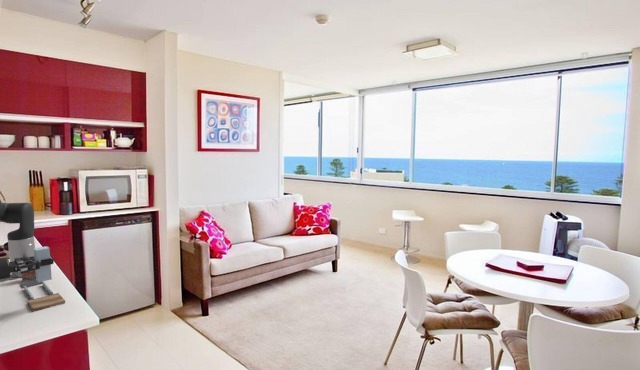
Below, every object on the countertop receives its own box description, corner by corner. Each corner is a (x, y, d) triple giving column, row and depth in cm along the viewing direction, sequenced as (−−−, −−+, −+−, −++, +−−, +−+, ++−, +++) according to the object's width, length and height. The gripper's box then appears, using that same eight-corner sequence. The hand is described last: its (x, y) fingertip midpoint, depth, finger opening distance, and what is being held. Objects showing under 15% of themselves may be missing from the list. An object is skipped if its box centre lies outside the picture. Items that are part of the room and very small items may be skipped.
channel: (24, 289, 148) (24, 286, 148) (44, 284, 153) (43, 281, 152) (32, 301, 137) (32, 297, 137) (53, 295, 142) (53, 292, 142)
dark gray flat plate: (20, 284, 153) (20, 283, 153) (40, 279, 158) (40, 279, 158) (22, 288, 149) (22, 287, 149) (43, 283, 154) (43, 282, 154)
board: (27, 303, 135) (27, 300, 135) (58, 295, 142) (58, 292, 142) (33, 311, 129) (33, 308, 129) (65, 302, 136) (65, 300, 136)
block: (36, 279, 134) (33, 248, 133) (49, 276, 137) (46, 246, 136) (38, 282, 131) (35, 250, 130) (51, 279, 134) (49, 248, 133)
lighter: (20, 281, 157) (18, 259, 155) (24, 278, 160) (22, 256, 159) (41, 279, 159) (39, 257, 158) (45, 276, 162) (43, 255, 161)
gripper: (-8, 264, 118) (55, 253, 130) (-13, 256, 127) (46, 246, 140) (-6, 286, 119) (57, 273, 131) (-11, 276, 128) (48, 265, 141)
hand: (51, 259), depth 135 cm, fingers closed on block, 4 cm apart
